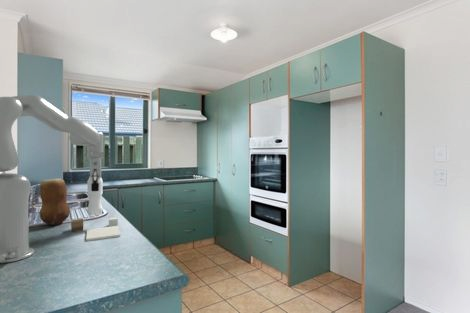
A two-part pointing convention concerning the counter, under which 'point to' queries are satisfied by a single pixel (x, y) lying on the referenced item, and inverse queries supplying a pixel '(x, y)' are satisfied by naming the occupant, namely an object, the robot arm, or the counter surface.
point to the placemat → (102, 233)
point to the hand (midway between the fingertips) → (95, 189)
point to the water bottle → (95, 197)
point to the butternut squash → (53, 201)
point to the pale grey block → (113, 222)
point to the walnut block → (77, 225)
